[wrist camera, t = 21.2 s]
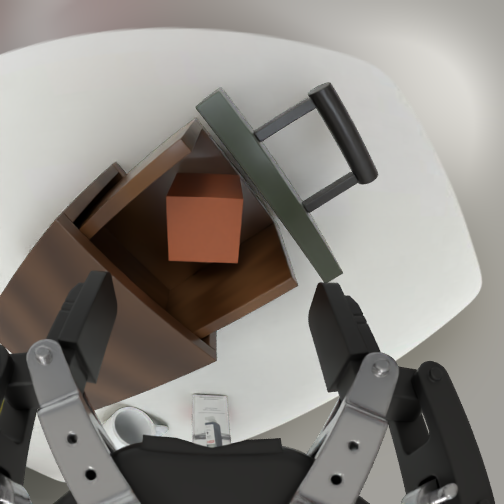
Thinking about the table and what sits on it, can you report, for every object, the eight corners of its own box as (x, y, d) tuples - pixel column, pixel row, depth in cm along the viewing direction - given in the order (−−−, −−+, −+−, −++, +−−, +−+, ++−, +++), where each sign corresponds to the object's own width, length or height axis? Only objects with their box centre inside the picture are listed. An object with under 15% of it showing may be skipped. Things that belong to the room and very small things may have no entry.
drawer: (283, 48, 16) (319, 31, 9) (362, 179, 22) (414, 228, 15) (83, 204, 21) (36, 260, 14) (176, 296, 26) (166, 367, 20)
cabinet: (115, 161, 20) (55, 218, 12) (217, 271, 26) (217, 361, 18) (28, 259, 24) (-18, 327, 15) (114, 335, 30) (95, 410, 22)
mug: (101, 473, 34) (122, 464, 30) (88, 426, 40) (106, 406, 35) (159, 467, 43) (190, 454, 38) (144, 425, 48) (172, 405, 44)
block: (176, 172, 19) (165, 196, 16) (239, 174, 20) (243, 198, 16) (177, 228, 21) (168, 261, 18) (235, 230, 22) (238, 263, 18)
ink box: (224, 420, 42) (228, 488, 32) (192, 418, 41) (192, 487, 31) (229, 394, 37) (234, 474, 27) (192, 392, 37) (190, 473, 27)
